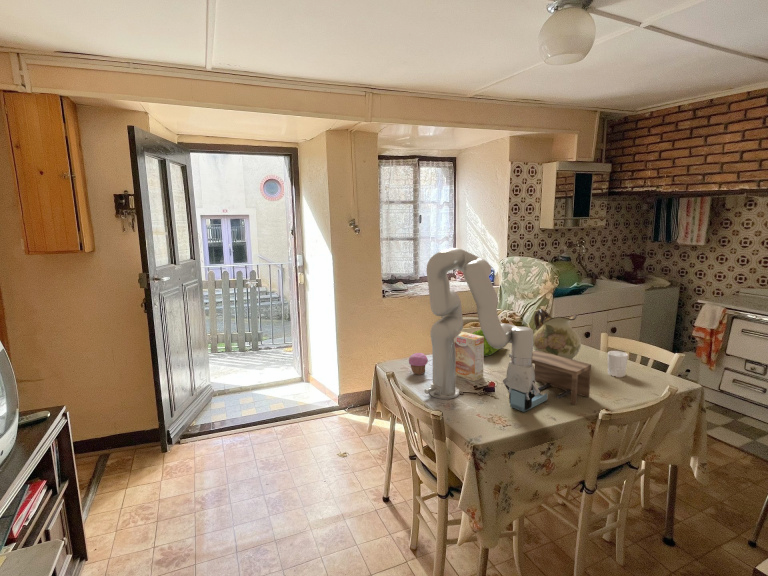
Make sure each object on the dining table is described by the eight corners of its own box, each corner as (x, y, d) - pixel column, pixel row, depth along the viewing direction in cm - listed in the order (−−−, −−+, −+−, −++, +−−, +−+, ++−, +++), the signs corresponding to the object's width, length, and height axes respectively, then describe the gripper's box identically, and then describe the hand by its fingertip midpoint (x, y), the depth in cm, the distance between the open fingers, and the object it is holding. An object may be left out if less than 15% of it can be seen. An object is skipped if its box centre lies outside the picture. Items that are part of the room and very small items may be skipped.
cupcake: (430, 371, 198) (430, 351, 196) (423, 378, 190) (423, 357, 189) (413, 369, 202) (413, 349, 200) (405, 375, 194) (405, 354, 193)
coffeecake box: (448, 373, 196) (448, 332, 193) (457, 369, 201) (457, 329, 198) (474, 381, 185) (475, 339, 182) (483, 377, 190) (484, 336, 187)
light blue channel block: (523, 412, 155) (524, 394, 154) (510, 406, 160) (510, 389, 158) (547, 399, 165) (548, 383, 163) (533, 395, 169) (534, 378, 168)
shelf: (574, 405, 160) (576, 372, 158) (519, 386, 179) (520, 356, 176) (589, 396, 168) (591, 364, 165) (535, 379, 186) (536, 350, 184)
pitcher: (577, 372, 193) (580, 319, 189) (524, 364, 205) (526, 314, 201) (581, 358, 212) (584, 310, 208) (533, 351, 224) (535, 306, 220)
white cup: (621, 379, 184) (623, 357, 182) (603, 374, 190) (604, 353, 188) (629, 374, 189) (630, 353, 187) (610, 370, 195) (612, 349, 193)
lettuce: (490, 345, 239) (513, 354, 228) (464, 352, 223) (487, 361, 212) (494, 321, 236) (517, 328, 225) (467, 326, 220) (491, 334, 209)
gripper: (496, 356, 160) (495, 400, 163) (537, 368, 146) (535, 416, 149) (508, 352, 164) (506, 395, 167) (548, 363, 151) (546, 410, 154)
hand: (520, 404), depth 158 cm, fingers closed on light blue channel block, 6 cm apart
